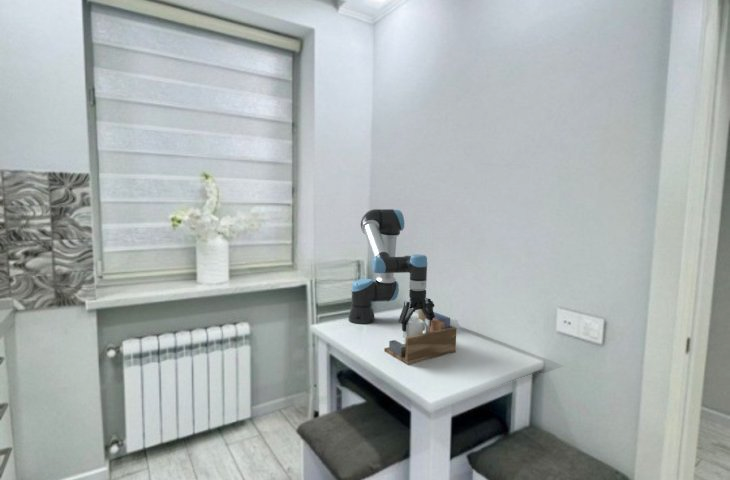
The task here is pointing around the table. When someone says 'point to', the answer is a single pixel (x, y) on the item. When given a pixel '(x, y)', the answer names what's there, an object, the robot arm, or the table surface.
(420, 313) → the coffee cup
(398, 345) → the grey rectangular block
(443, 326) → the books
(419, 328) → the cup
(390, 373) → the table surface
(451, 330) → the wooden book rack
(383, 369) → the table surface
